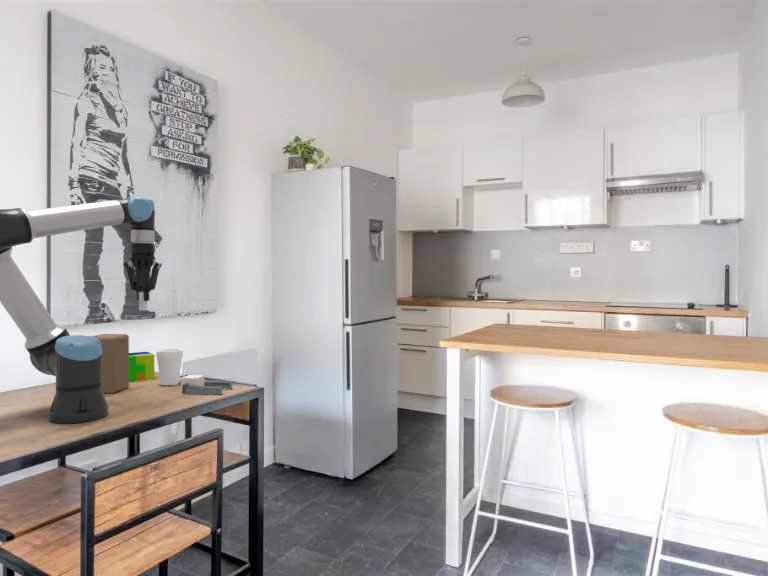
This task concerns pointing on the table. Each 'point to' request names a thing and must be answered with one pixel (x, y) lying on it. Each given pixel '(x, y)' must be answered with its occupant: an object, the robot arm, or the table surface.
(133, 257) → the robot arm
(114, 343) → the wooden block
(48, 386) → the table surface
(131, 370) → the puzzle toy
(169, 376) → the foam cup
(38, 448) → the table surface
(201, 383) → the block
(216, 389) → the chute
